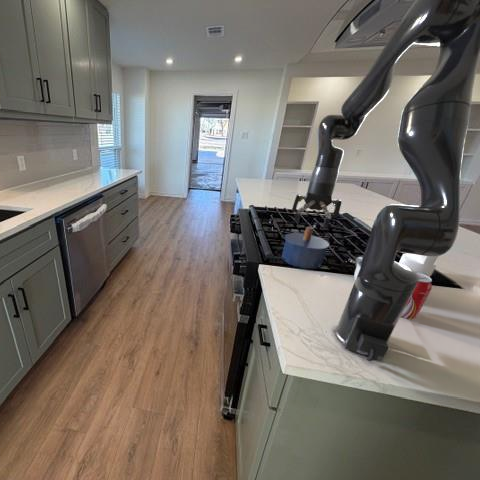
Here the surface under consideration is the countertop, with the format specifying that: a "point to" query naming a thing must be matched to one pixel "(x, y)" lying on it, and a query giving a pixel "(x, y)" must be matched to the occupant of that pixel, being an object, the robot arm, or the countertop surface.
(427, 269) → the cylinder with rectangular tab
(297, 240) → the pot lid
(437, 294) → the countertop surface
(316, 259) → the pot
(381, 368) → the countertop surface
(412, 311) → the soda can
